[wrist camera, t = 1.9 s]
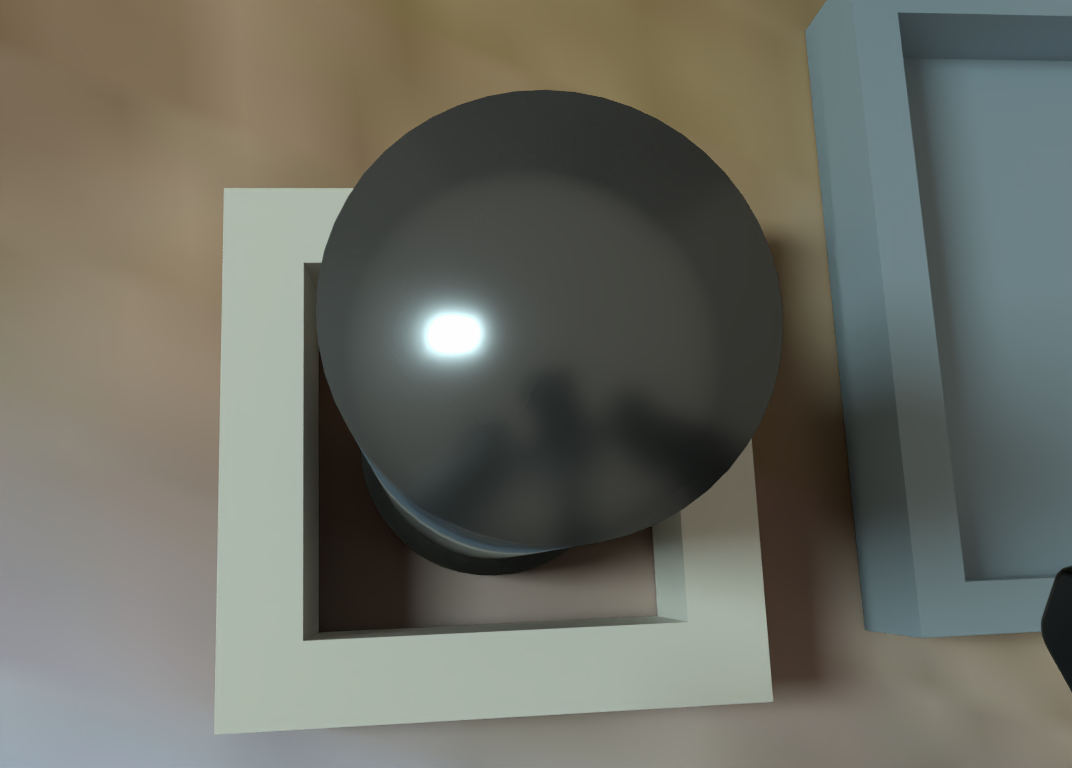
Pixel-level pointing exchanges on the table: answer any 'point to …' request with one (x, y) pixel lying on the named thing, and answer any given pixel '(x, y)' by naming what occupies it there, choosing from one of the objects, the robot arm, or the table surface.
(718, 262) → the strut
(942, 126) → the tray
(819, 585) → the table surface
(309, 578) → the collar block
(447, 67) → the table surface
